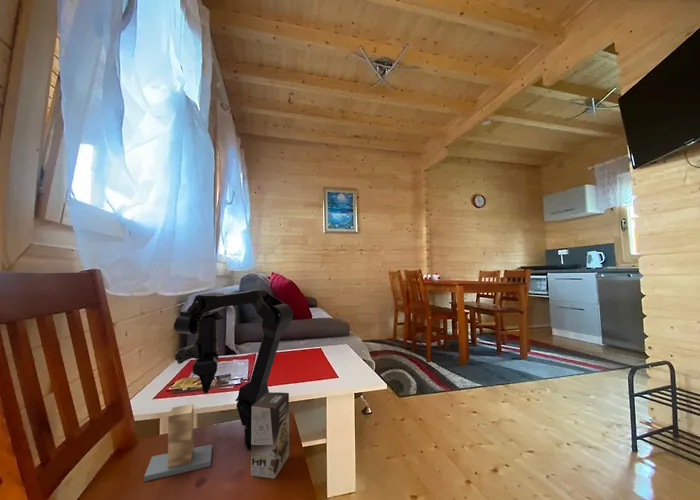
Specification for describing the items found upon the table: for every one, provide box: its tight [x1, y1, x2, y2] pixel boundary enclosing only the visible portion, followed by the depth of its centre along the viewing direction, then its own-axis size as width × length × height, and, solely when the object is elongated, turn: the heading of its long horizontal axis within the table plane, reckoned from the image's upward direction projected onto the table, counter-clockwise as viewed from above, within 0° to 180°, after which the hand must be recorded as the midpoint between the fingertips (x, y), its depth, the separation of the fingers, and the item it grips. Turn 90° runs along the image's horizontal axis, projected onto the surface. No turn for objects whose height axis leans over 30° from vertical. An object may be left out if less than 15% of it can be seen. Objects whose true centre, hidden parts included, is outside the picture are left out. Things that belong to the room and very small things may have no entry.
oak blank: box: [167, 404, 195, 467], centre depth 78 cm, size 5×5×12 cm
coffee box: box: [250, 391, 290, 479], centre depth 77 cm, size 9×6×16 cm
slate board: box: [143, 443, 213, 483], centre depth 78 cm, size 14×8×1 cm, turn 111°
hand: (206, 387), depth 94 cm, fingers open, 9 cm apart
